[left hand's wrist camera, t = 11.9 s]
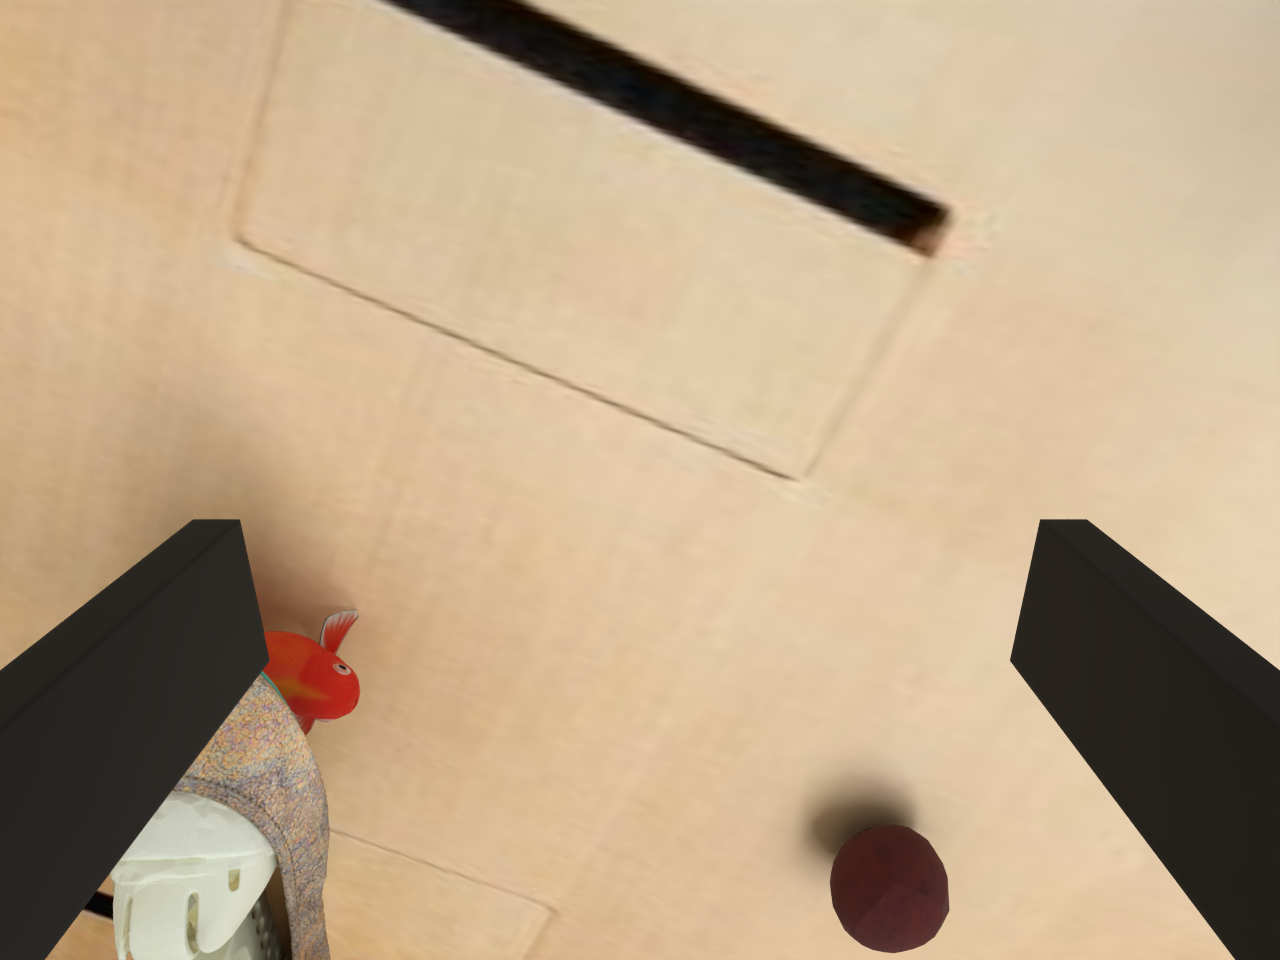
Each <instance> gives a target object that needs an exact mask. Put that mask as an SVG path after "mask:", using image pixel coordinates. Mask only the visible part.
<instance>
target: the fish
mask: <svg viewBox="0 0 1280 960" xmlns="http://www.w3.org/2000/svg"><path fill="white" fill-rule="evenodd" d="M357 618H358V614H357V612H356V610H346V611H341V612H338V613H335V614H333V615H330V616H329V617H327V618H326V619H325V622H324V625H323V628H322V631H321V636H320V645H319V644H318V643H316V642H315V641H313V640H311V639H309V638H307V637H305V636H302V635H299V634H296V633H289V632H281V631H269V632H264V635H265V639H266V644H267V649H268V653H269V658H270V661H269V663H268V664H267V665H266V667H265V668H264V669H263V672H264V673H265V674H266V675H267V676H268V677H269V678H270V680H271V681H272V682H273V683H274V685H275V686H276V687H277V689H278V690H279V692H280V693H281V695H282V697H283V698H284V700H285V701H286V703H287V705H288V706H289V708H290V709H291V711H292V713H293V715H294V717H295V718H296V720H297V722H298V724H299V725H300V727H301V729H302V731H303V733H304V734H305V736H306V735H307V733H308V732H309V731H310V730H311V728H312V726H313V724H314V721H315V719H316V720H318V721H322V722H328V721H331V720H334V719H337V718H340V717H342V716H344V715H346V714H349V713H350V712H351V711H352V710H353V709H354V708H355V707H356V705H357V703H358V701H359V695H360V686H359V681H358V678H357V675H356V674H355V672H354V671H353V670H352V669H351V668H350V667H349V666H348V665H346V664H345V663H344V662H343V661H342V660H341V659H340V658H339V657H338V656H336V655H335V654H336V652H337V650H338V648H339V646H340V644H341V642H342V641H343V639H344V637H345V636H346V634H347V633H348V631H349V629H350V627H351V626H352V624H353V623H354V622H355V620H357Z"/></svg>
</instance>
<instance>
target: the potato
mask: <svg viewBox="0 0 1280 960" xmlns="http://www.w3.org/2000/svg"><path fill="white" fill-rule="evenodd" d="M830 887H831V896H832V903H833V907H834V909H835V912H836V914H837V916H838V918H839V920H840V922H841V924H842V926H843V928H844V929H845V931H846V932H847V933H848V934H849V935H850V936H851V937H853V938H854V939H855V940H856V941H858V942H859V943H860V944H861V945H863V946H865V947H868V948H870V949H872V950H876V951H881V952H888V953H897V952H903V951H907V950H911V949H914V948H917V947H919V946H922V945H924V944H926V943H927V942H928V941H930V940H931V939H932V938H934V937H935V935H936V934H937V932H938V931H939V929H940V928H941V926H942V924H943V922H944V920H945V918H946V916H947V914H948V912H949V896H948V878H947V874H946V871H945V868H944V866H943V863H942V861H941V860H940V858H939V857H938V855H937V853H936V852H935V850H934V849H933V847H932V846H931V844H930V843H929V841H928V840H927V839H925V838H924V837H923V836H921V835H920V834H918V833H917V832H915V831H913V830H912V829H910V828H909V827H903V826H898V825H878V826H875V827H872V828H869V829H866V830H864V831H862V832H860V833H859V834H857V835H856V836H854V837H853V838H851V839H850V840H848V841H847V842H846V843H845V844H844V845H843V847H842V848H841V850H840V851H839V853H838V855H837V857H836V858H835V860H834V863H833V867H832V871H831V879H830Z"/></svg>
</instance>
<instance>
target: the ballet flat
mask: <svg viewBox="0 0 1280 960" xmlns="http://www.w3.org/2000/svg"><path fill="white" fill-rule="evenodd" d="M326 798H327V796H326V790H325V788H324V783H323V781H322V778H321V773H320V771H319V769H318V766H317V764H316V761H315V758H314V755H313V753H312V750H311V748H310V746H309V743H308V740H307V738H306V736H305V734H304V733H303V731H302V729H301V727H300V725H299V724H298V722H297V720H296V718H295V717H294V715H293V713H292V711H291V709H290V708H289V706H288V705H287V703H286V701H285V700H284V698H283V697H282V695H281V693H280V692H279V690H278V689H277V687H276V686H275V685H274V683H273V682H272V681H271V680H270V678H269V677H268V676H267V675H266V674H265V673H264V672H263V671H262V672H261V673H260V675H259V676H258V677H257V679H256V680H255V681H254V683H253V684H252V685H251V687H250V688H249V689H248V691H247V692H246V693H245V695H244V696H243V697H242V699H241V700H240V701H239V702H238V704H237V705H236V706H235V708H234V709H233V710H232V712H231V713H230V714H229V716H228V717H227V718H226V720H225V721H224V722H223V724H222V725H221V726H220V728H219V729H218V730H217V732H216V733H215V734H214V736H213V737H212V738H211V740H210V741H209V742H208V744H207V745H206V746H205V748H204V749H203V750H202V752H201V753H200V754H199V756H198V757H197V758H196V760H195V761H194V762H193V764H192V765H191V766H190V768H189V769H188V770H187V772H186V773H185V774H184V775H183V777H182V778H181V779H180V781H179V782H178V783H177V785H176V786H175V787H174V789H173V790H172V791H171V793H170V794H169V795H168V797H167V798H166V799H165V801H164V802H163V803H162V805H161V806H160V807H159V809H158V810H157V811H156V813H155V814H154V815H153V817H152V818H151V819H150V821H149V822H148V823H147V825H146V826H145V827H144V829H143V830H142V831H141V833H140V834H139V835H138V837H137V838H136V839H135V841H134V842H133V843H132V844H131V846H130V847H129V848H128V850H127V851H126V852H125V854H124V855H123V856H122V858H121V859H120V860H119V862H118V863H117V864H116V866H115V867H114V868H113V870H112V871H111V872H110V874H111V878H112V881H113V882H114V886H113V893H114V901H113V920H114V933H115V945H116V950H117V955H118V960H126V958H127V954H128V952H131V954H132V957H133V959H134V960H331V957H330V950H329V945H328V940H327V934H326V929H325V914H324V905H323V900H322V889H323V884H324V881H325V878H326V872H327V859H328V847H329V835H330V828H329V820H328V805H327V799H326Z"/></svg>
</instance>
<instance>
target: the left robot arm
mask: <svg viewBox="0 0 1280 960" xmlns="http://www.w3.org/2000/svg"><path fill="white" fill-rule="evenodd" d="M269 661H270V658H269V653H268V649H267V644H266V639H265V635H264V630H263V625H262V621H261V616H260V611H259V607H258V602H257V597H256V593H255V588H254V583H253V579H252V574H251V569H250V565H249V560H248V555H247V551H246V546H245V541H244V537H243V532H242V527H241V523H240V519H193V520H192V521H191V522H189V523H188V524H187V525H185V526H184V527H183V528H182V529H180V530H179V531H178V532H176V533H175V534H174V535H173V536H171V537H170V538H169V539H168V540H166V541H165V542H164V543H162V544H161V545H160V546H159V547H157V548H156V549H155V550H153V551H152V552H151V553H150V554H148V555H147V556H146V557H145V558H143V559H142V560H141V561H139V562H138V563H137V564H136V565H134V566H133V567H132V568H130V569H129V570H128V571H127V572H125V573H124V574H123V575H122V576H120V577H119V578H118V579H116V580H115V581H114V582H113V583H111V584H110V585H109V586H107V587H106V588H105V589H104V590H102V591H101V592H100V593H99V594H97V595H96V596H95V597H93V598H92V599H91V600H90V601H88V602H87V603H86V604H84V605H83V606H82V607H81V608H79V609H78V610H77V611H76V612H74V613H73V614H72V615H70V616H69V617H68V618H67V619H65V620H64V621H63V622H61V623H60V624H59V625H58V626H56V627H55V628H54V629H53V630H51V631H50V632H49V633H47V634H46V635H45V636H44V637H42V638H41V639H40V640H39V641H37V642H36V643H35V644H33V645H32V646H31V647H30V648H28V649H27V650H26V651H24V652H23V653H22V654H21V655H19V656H18V657H17V658H16V659H14V660H13V661H12V662H10V663H9V664H8V665H7V666H5V667H4V668H3V669H1V670H0V960H45V959H46V957H47V956H48V955H49V953H50V952H51V951H52V949H53V948H54V947H55V945H56V944H57V943H58V941H59V940H60V939H61V937H62V936H63V935H64V933H65V932H66V931H67V929H68V928H69V927H70V925H71V924H72V923H73V921H74V920H75V919H76V917H77V916H78V915H79V914H80V912H81V911H82V910H83V908H84V907H85V906H86V904H87V903H88V902H89V900H90V899H91V898H92V896H93V895H94V894H95V892H96V891H97V890H98V888H99V887H100V886H101V884H102V883H103V882H104V880H105V879H106V878H107V876H108V875H109V874H110V872H111V871H112V870H113V868H114V867H115V866H116V864H117V863H118V862H119V860H120V859H121V858H122V856H123V855H124V854H125V852H126V851H127V850H128V848H129V847H130V846H131V844H132V843H133V842H134V841H135V839H136V838H137V837H138V835H139V834H140V833H141V831H142V830H143V829H144V827H145V826H146V825H147V823H148V822H149V821H150V819H151V818H152V817H153V815H154V814H155V813H156V811H157V810H158V809H159V807H160V806H161V805H162V803H163V802H164V801H165V799H166V798H167V797H168V795H169V794H170V793H171V791H172V790H173V789H174V787H175V786H176V785H177V783H178V782H179V781H180V779H181V778H182V777H183V775H184V774H185V773H186V772H187V770H188V769H189V768H190V766H191V765H192V764H193V762H194V761H195V760H196V758H197V757H198V756H199V754H200V753H201V752H202V750H203V749H204V748H205V746H206V745H207V744H208V742H209V741H210V740H211V738H212V737H213V736H214V734H215V733H216V732H217V730H218V729H219V728H220V726H221V725H222V724H223V722H224V721H225V720H226V718H227V717H228V716H229V714H230V713H231V712H232V710H233V709H234V708H235V706H236V705H237V704H238V702H239V701H240V700H241V699H242V697H243V696H244V695H245V693H246V692H247V691H248V689H249V688H250V687H251V685H252V684H253V683H254V681H255V680H256V679H257V677H258V676H259V675H260V673H261V672H262V671H263V669H264V668H265V667H266V665H267V664H268V663H269ZM1010 661H1011V663H1012V664H1013V665H1014V667H1015V668H1016V669H1017V671H1018V672H1019V673H1020V675H1021V676H1022V677H1023V679H1024V680H1025V681H1026V683H1027V684H1028V685H1029V687H1030V688H1031V689H1032V691H1033V692H1034V693H1035V695H1036V696H1037V697H1038V699H1039V700H1040V701H1041V703H1042V704H1043V705H1044V706H1045V708H1046V709H1047V710H1048V712H1049V713H1050V714H1051V716H1052V717H1053V718H1054V720H1055V721H1056V722H1057V724H1058V725H1059V726H1060V728H1061V729H1062V730H1063V732H1064V733H1065V734H1066V736H1067V737H1068V738H1069V740H1070V741H1071V742H1072V744H1073V745H1074V746H1075V748H1076V749H1077V750H1078V752H1079V753H1080V754H1081V756H1082V757H1083V758H1084V760H1085V761H1086V762H1087V764H1088V765H1089V766H1090V768H1091V769H1092V770H1093V772H1094V773H1095V774H1096V775H1097V777H1098V778H1099V779H1100V781H1101V782H1102V783H1103V785H1104V786H1105V787H1106V789H1107V790H1108V791H1109V793H1110V794H1111V795H1112V797H1113V798H1114V799H1115V801H1116V802H1117V803H1118V805H1119V806H1120V807H1121V809H1122V810H1123V811H1124V813H1125V814H1126V815H1127V817H1128V818H1129V819H1130V821H1131V822H1132V823H1133V825H1134V826H1135V827H1136V829H1137V830H1138V831H1139V833H1140V834H1141V835H1142V837H1143V838H1144V839H1145V841H1146V842H1147V843H1148V844H1149V846H1150V847H1151V848H1152V850H1153V851H1154V852H1155V854H1156V855H1157V856H1158V858H1159V859H1160V860H1161V862H1162V863H1163V864H1164V866H1165V867H1166V868H1167V870H1168V871H1169V872H1170V874H1171V875H1172V876H1173V878H1174V879H1175V880H1176V882H1177V883H1178V884H1179V886H1180V887H1181V888H1182V890H1183V891H1184V892H1185V894H1186V895H1187V896H1188V898H1189V899H1190V900H1191V902H1192V903H1193V904H1194V906H1195V907H1196V908H1197V910H1198V911H1199V912H1200V914H1201V915H1202V916H1203V917H1204V919H1205V920H1206V921H1207V923H1208V924H1209V925H1210V927H1211V928H1212V929H1213V931H1214V932H1215V933H1216V935H1217V936H1218V937H1219V939H1220V940H1221V941H1222V943H1223V944H1224V945H1225V947H1226V948H1227V949H1228V951H1229V952H1230V953H1231V955H1232V956H1233V957H1234V959H1235V960H1280V670H1279V669H1277V668H1276V667H1275V666H1273V665H1272V664H1271V663H1270V662H1268V661H1267V660H1266V659H1264V658H1263V657H1262V656H1261V655H1259V654H1258V653H1257V652H1256V651H1254V650H1253V649H1252V648H1250V647H1249V646H1248V645H1247V644H1245V643H1244V642H1243V641H1241V640H1240V639H1239V638H1238V637H1236V636H1235V635H1234V634H1233V633H1231V632H1230V631H1229V630H1227V629H1226V628H1225V627H1224V626H1222V625H1221V624H1220V623H1219V622H1217V621H1216V620H1215V619H1213V618H1212V617H1211V616H1210V615H1208V614H1207V613H1206V612H1204V611H1203V610H1202V609H1201V608H1199V607H1198V606H1197V605H1196V604H1194V603H1193V602H1192V601H1190V600H1189V599H1188V598H1187V597H1185V596H1184V595H1183V594H1181V593H1180V592H1179V591H1178V590H1176V589H1175V588H1174V587H1173V586H1171V585H1170V584H1169V583H1167V582H1166V581H1165V580H1164V579H1162V578H1161V577H1160V576H1158V575H1157V574H1156V573H1155V572H1153V571H1152V570H1151V569H1150V568H1148V567H1147V566H1146V565H1144V564H1143V563H1142V562H1141V561H1139V560H1138V559H1137V558H1135V557H1134V556H1133V555H1132V554H1130V553H1129V552H1128V551H1127V550H1125V549H1124V548H1123V547H1121V546H1120V545H1119V544H1118V543H1116V542H1115V541H1114V540H1112V539H1111V538H1110V537H1109V536H1107V535H1106V534H1105V533H1104V532H1102V531H1101V530H1100V529H1098V528H1097V527H1096V526H1095V525H1093V524H1092V523H1091V522H1089V521H1088V520H1087V519H1040V523H1039V527H1038V532H1037V537H1036V541H1035V546H1034V551H1033V555H1032V560H1031V565H1030V569H1029V574H1028V579H1027V583H1026V588H1025V593H1024V597H1023V602H1022V607H1021V611H1020V616H1019V621H1018V625H1017V630H1016V635H1015V639H1014V644H1013V649H1012V653H1011V658H1010Z"/></svg>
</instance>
